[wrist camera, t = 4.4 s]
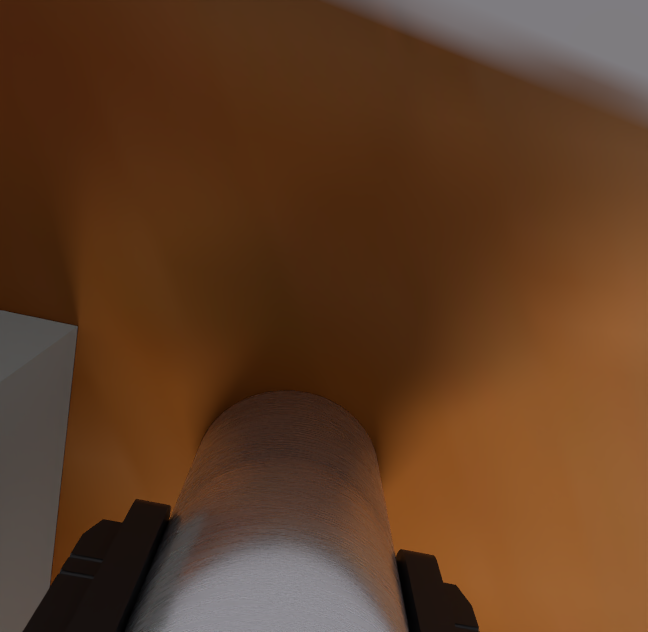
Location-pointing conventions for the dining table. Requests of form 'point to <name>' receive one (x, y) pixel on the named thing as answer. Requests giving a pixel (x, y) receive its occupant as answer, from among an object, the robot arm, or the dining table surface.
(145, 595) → the spout can
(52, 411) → the box with square opening
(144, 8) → the dining table surface
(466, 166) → the dining table surface
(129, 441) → the dining table surface
